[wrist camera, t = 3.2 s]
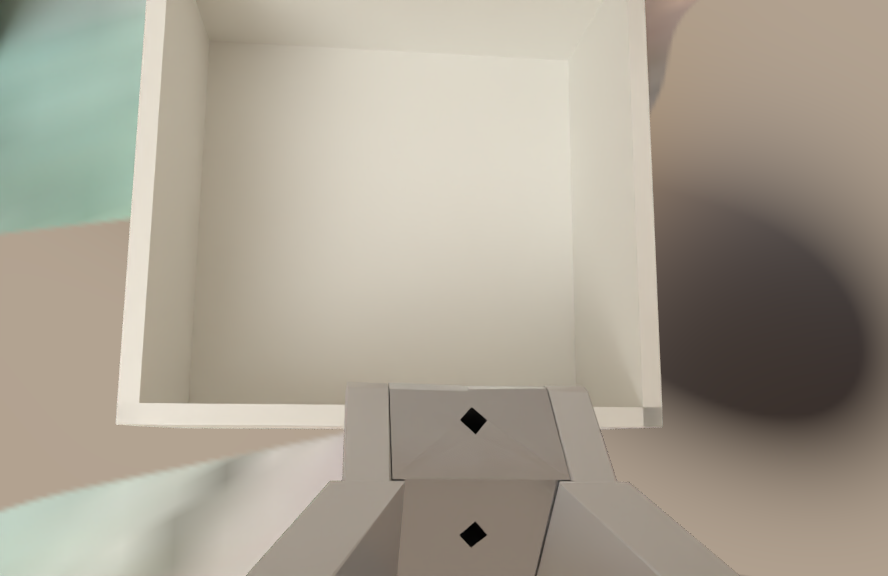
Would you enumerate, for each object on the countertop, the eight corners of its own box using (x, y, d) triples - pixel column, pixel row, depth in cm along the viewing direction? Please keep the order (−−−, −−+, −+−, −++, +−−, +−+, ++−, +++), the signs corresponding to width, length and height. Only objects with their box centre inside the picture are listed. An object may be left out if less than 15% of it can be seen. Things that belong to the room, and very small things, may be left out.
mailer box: (173, 428, 31) (115, 424, 24) (197, 32, 34) (152, -89, 26) (588, 429, 33) (663, 427, 25) (578, 53, 36) (642, -54, 28)
